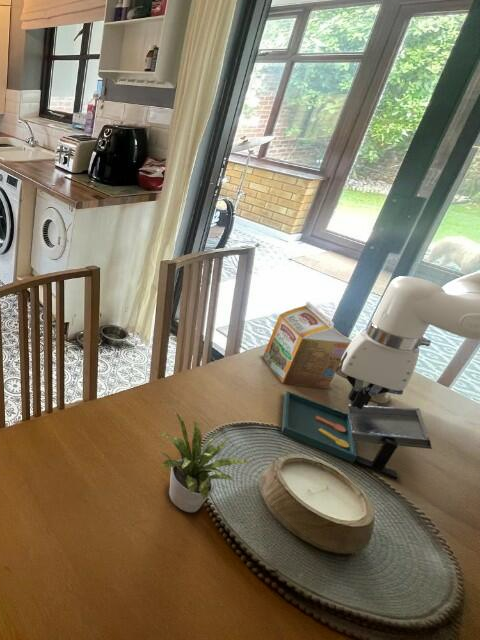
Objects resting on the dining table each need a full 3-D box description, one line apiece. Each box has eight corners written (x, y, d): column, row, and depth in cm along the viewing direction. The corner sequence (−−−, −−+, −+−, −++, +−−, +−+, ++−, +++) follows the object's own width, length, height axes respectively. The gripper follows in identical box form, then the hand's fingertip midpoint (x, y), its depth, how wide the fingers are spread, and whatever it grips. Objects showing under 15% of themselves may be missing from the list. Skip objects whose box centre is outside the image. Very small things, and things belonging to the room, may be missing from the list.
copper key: (346, 429, 92) (347, 427, 91) (344, 434, 90) (345, 433, 90) (316, 415, 95) (316, 414, 95) (314, 420, 94) (315, 419, 94)
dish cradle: (386, 434, 91) (401, 409, 88) (396, 480, 81) (414, 453, 78) (350, 421, 94) (364, 396, 91) (356, 463, 84) (372, 437, 81)
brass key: (350, 446, 87) (351, 444, 87) (345, 450, 86) (346, 448, 86) (321, 428, 92) (321, 426, 92) (316, 431, 91) (317, 430, 91)
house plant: (121, 473, 81) (137, 412, 74) (175, 452, 86) (194, 393, 79) (178, 544, 69) (203, 479, 62) (237, 516, 74) (266, 453, 67)
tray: (348, 420, 95) (351, 414, 94) (353, 462, 84) (357, 456, 83) (284, 396, 101) (286, 390, 100) (281, 433, 91) (284, 427, 90)
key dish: (421, 416, 85) (419, 408, 84) (432, 449, 77) (430, 439, 77) (349, 412, 92) (347, 404, 92) (353, 441, 85) (351, 432, 84)
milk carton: (327, 388, 104) (358, 325, 96) (282, 383, 106) (309, 321, 98) (303, 361, 114) (330, 302, 106) (262, 357, 115) (285, 299, 107)
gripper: (440, 340, 82) (399, 409, 89) (343, 315, 90) (313, 380, 97) (449, 359, 76) (405, 431, 84) (345, 331, 84) (313, 398, 92)
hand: (355, 403), depth 91 cm, fingers closed
